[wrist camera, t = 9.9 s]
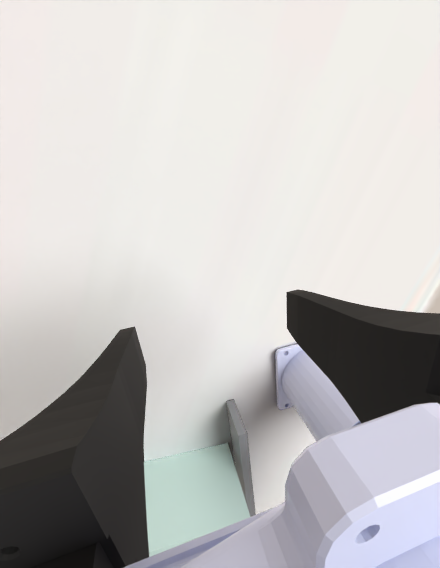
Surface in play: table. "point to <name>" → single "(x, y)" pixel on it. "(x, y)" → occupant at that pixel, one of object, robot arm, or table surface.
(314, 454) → the robot arm
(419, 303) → the table surface
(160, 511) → the l-shaped corner panel
